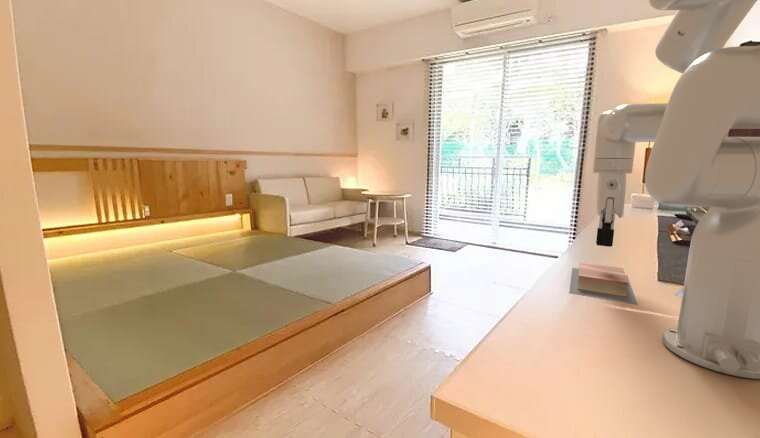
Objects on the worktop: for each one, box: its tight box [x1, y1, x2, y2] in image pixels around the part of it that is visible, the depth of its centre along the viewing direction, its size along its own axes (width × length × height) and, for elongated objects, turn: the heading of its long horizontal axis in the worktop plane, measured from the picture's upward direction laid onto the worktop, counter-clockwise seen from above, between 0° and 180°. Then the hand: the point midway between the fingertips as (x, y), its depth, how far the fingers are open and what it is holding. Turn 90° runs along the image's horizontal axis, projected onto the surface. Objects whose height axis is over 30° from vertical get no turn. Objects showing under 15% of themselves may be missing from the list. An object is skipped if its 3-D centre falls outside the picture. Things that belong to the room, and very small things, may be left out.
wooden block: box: [578, 262, 628, 297], centre depth 80 cm, size 3×9×12 cm
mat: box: [568, 267, 639, 305], centre depth 81 cm, size 21×12×1 cm, turn 150°
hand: (604, 245), depth 83 cm, fingers closed
